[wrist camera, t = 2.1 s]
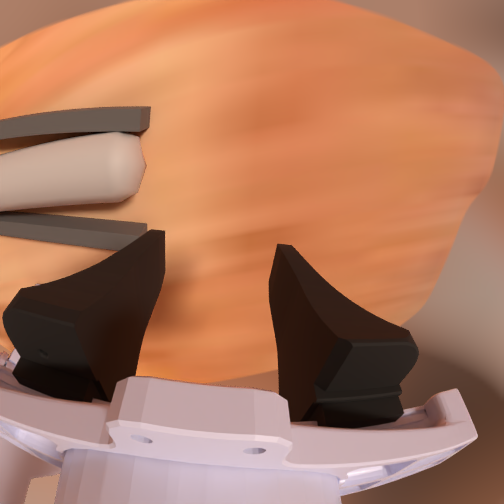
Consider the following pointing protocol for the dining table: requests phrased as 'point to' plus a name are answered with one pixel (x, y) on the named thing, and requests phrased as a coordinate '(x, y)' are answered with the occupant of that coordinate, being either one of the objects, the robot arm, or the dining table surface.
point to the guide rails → (69, 227)
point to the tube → (72, 171)
